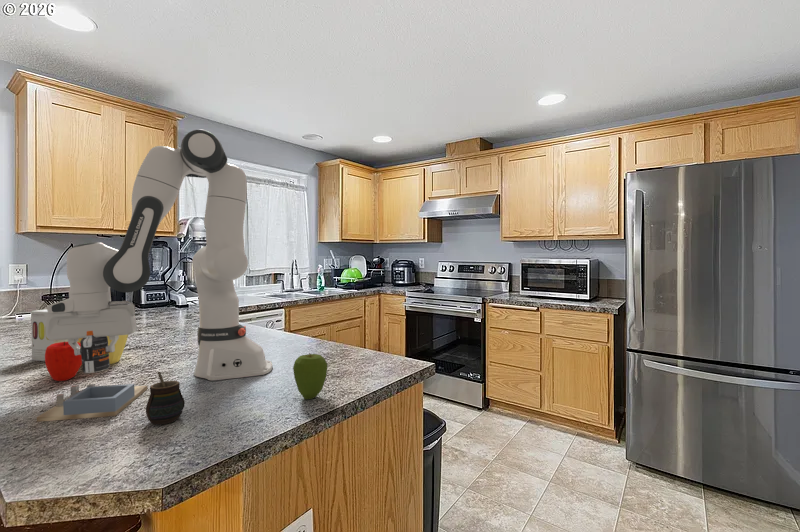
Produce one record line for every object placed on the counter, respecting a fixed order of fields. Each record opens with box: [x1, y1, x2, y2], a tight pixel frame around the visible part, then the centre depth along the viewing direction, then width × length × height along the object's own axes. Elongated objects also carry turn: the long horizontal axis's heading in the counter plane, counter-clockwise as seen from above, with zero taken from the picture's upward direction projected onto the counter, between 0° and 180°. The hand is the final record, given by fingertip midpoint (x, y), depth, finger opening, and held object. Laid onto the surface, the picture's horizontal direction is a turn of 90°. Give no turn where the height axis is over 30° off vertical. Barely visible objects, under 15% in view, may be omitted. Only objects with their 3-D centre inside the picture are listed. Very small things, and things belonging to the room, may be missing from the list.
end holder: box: [63, 383, 135, 415], centre depth 93 cm, size 10×10×3 cm
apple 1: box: [44, 342, 82, 382], centre depth 115 cm, size 9×9×11 cm
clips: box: [55, 383, 96, 407], centre depth 96 cm, size 5×8×2 cm, turn 13°
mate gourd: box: [145, 371, 186, 426], centre depth 87 cm, size 7×8×10 cm
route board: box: [36, 385, 148, 423], centre depth 96 cm, size 15×18×1 cm
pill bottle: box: [80, 331, 111, 374], centre depth 108 cm, size 6×6×11 cm
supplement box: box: [30, 308, 68, 362], centre depth 139 cm, size 10×9×17 cm
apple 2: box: [292, 352, 328, 400], centre depth 101 cm, size 9×8×12 cm
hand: (95, 353), depth 108 cm, fingers closed on pill bottle, 6 cm apart
